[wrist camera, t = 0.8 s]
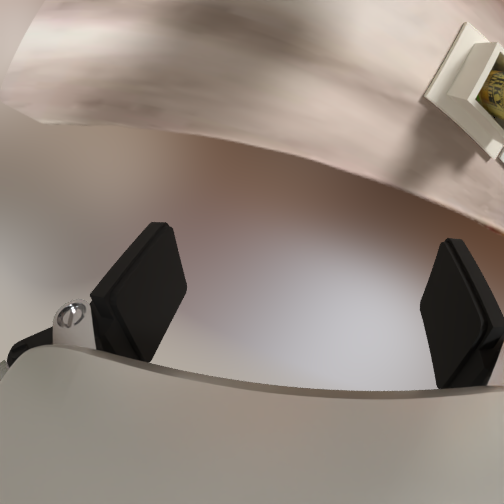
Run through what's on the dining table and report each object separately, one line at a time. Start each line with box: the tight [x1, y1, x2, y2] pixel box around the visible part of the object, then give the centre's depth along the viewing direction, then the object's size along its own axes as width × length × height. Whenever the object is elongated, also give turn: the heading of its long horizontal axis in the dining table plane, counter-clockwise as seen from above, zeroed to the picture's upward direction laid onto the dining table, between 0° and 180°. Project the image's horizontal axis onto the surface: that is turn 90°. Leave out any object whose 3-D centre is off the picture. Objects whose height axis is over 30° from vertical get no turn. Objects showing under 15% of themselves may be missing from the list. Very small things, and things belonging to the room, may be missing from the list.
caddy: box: [424, 22, 504, 160], centre depth 22 cm, size 14×14×8 cm
